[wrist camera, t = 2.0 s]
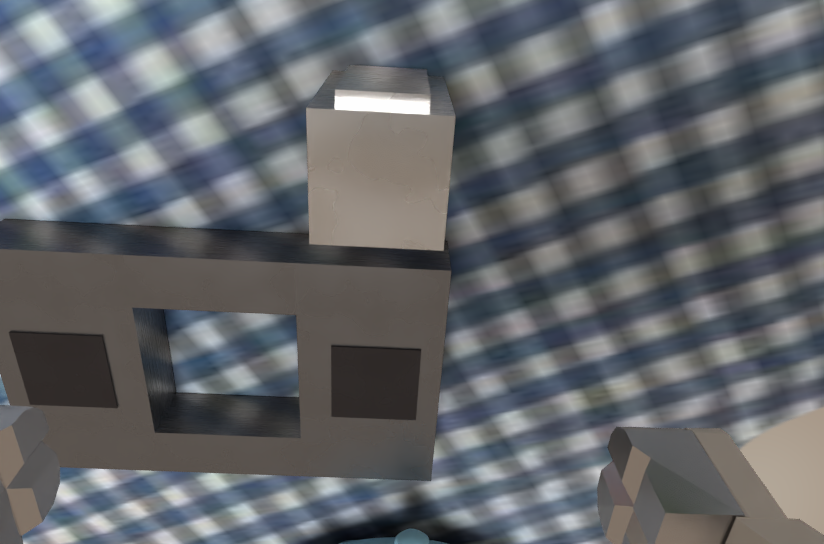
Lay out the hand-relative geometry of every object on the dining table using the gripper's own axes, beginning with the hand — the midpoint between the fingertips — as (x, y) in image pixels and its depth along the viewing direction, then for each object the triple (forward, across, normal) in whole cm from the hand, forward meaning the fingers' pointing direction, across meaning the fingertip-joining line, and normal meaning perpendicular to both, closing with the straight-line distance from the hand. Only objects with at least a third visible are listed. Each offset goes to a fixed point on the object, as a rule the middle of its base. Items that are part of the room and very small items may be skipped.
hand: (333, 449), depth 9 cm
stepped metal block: (+19, 0, 0) cm, 19 cm away
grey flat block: (+19, +7, +11) cm, 23 cm away
